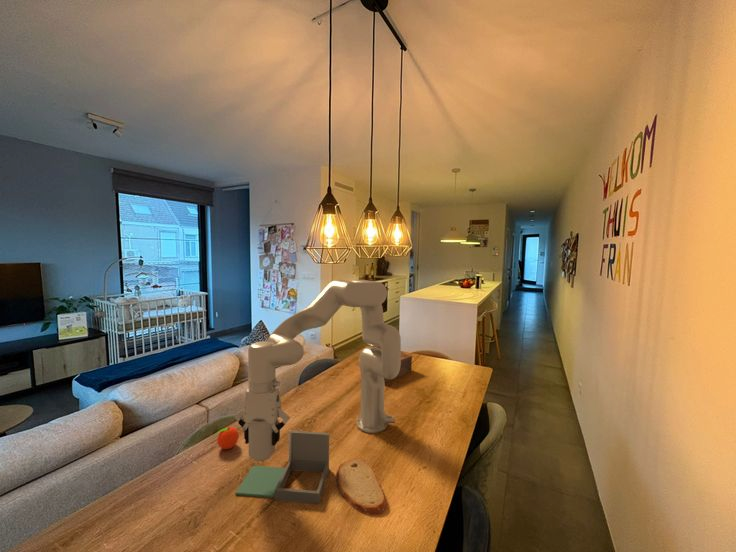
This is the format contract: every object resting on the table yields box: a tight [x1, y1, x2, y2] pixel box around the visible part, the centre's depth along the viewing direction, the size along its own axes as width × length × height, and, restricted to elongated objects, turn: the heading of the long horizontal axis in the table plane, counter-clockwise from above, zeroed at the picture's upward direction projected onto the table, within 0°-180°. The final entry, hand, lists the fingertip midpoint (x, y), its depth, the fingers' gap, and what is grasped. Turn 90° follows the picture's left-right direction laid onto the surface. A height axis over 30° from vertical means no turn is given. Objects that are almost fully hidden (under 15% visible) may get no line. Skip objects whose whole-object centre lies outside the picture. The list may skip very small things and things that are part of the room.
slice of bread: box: [335, 457, 388, 516], centre depth 90 cm, size 18×18×4 cm
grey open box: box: [274, 429, 330, 505], centre depth 90 cm, size 13×14×13 cm
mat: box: [235, 465, 286, 499], centre depth 91 cm, size 11×11×1 cm
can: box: [248, 420, 276, 462], centre depth 90 cm, size 8×8×12 cm
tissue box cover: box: [384, 351, 413, 383], centre depth 174 cm, size 26×14×10 cm, turn 133°
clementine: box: [213, 426, 240, 450], centre depth 106 cm, size 8×7×7 cm
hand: (262, 441), depth 90 cm, fingers closed on can, 7 cm apart
